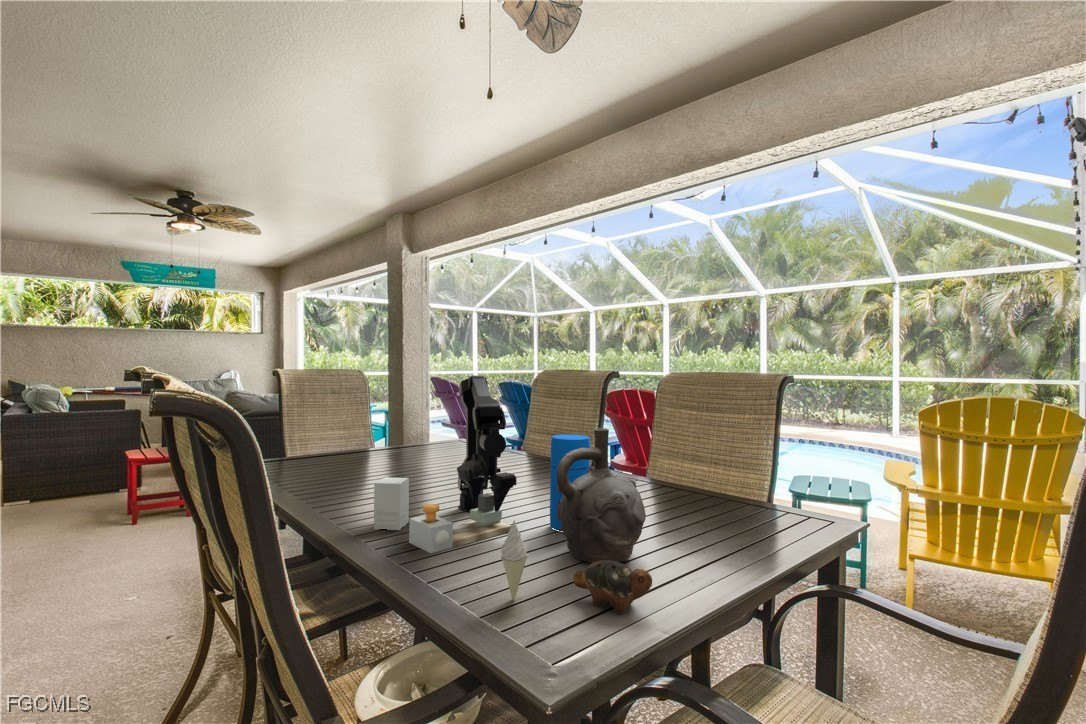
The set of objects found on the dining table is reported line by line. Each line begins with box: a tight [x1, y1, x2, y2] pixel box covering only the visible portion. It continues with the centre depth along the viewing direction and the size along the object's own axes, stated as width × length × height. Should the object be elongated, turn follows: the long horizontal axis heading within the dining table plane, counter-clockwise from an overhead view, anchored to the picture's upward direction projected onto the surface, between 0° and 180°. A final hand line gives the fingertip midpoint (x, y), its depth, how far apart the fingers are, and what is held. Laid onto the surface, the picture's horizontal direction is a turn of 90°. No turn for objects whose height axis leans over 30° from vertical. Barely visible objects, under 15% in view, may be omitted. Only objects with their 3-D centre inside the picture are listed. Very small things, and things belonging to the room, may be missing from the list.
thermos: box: [549, 434, 591, 531], centre depth 142 cm, size 11×11×25 cm
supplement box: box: [373, 476, 410, 531], centre depth 140 cm, size 7×7×13 cm
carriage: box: [469, 492, 503, 524], centre depth 138 cm, size 6×6×6 cm
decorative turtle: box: [572, 560, 653, 615], centre depth 95 cm, size 10×15×8 cm, turn 67°
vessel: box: [557, 427, 647, 564], centre depth 119 cm, size 24×22×30 cm
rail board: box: [452, 520, 512, 548], centre depth 135 cm, size 19×10×3 cm, turn 134°
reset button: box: [422, 503, 440, 524], centre depth 126 cm, size 4×4×4 cm
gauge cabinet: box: [408, 514, 454, 554], centre depth 126 cm, size 6×10×6 cm, turn 44°
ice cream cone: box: [500, 520, 528, 601], centre depth 97 cm, size 5×5×15 cm
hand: (485, 507), depth 138 cm, fingers open, 9 cm apart
